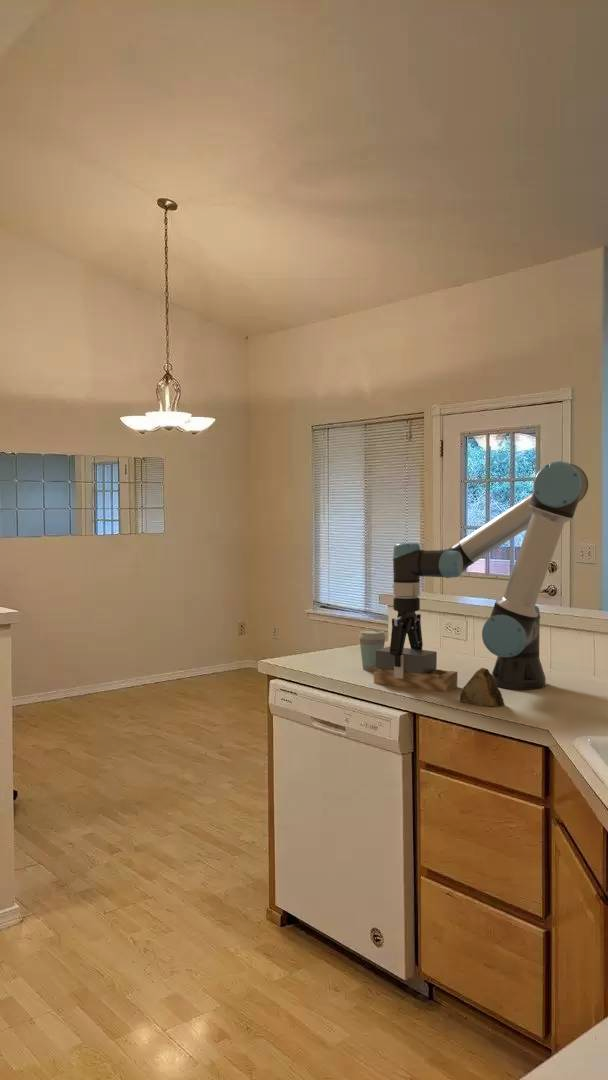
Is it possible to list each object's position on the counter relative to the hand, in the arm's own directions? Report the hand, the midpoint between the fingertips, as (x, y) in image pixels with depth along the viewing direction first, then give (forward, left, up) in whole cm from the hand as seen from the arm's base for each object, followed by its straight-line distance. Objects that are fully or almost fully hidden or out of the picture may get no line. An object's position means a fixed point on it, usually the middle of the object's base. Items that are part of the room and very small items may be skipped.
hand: (406, 675), depth 245 cm
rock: (-27, +11, -3) cm, 29 cm away
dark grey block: (0, 0, -2) cm, 2 cm away
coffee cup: (+19, -14, -3) cm, 24 cm away
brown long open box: (-3, 0, -3) cm, 4 cm away
